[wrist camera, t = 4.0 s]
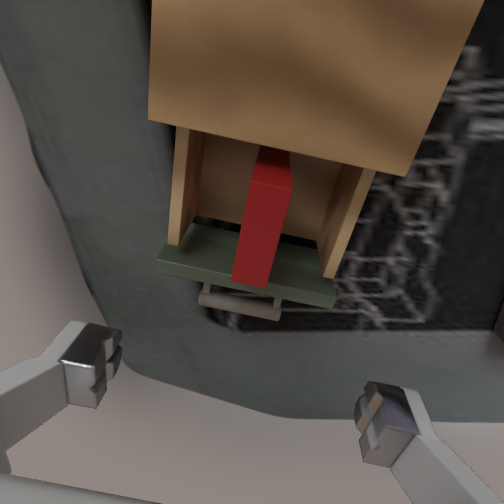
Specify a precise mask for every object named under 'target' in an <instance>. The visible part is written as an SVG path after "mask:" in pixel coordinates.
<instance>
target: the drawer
mask: <svg viewBox="0 0 504 504" xmlns="http://www.w3.org/2000/svg"><path fill="white" fill-rule="evenodd" d="M259 148H260V145H259V144H254V143H250V142H245V141H241V140H236V139H232V138H227V137H223V136H218V135H214V134H209V133H205V132H200V131H196V130H192V129H187V128H183V127H178V126H177V127H176V140H175V152H174V165H173V178H172V191H171V204H170V216H169V229H168V241H167V243H166V244H165V246H164V247H163V249H162V251H161V252H160V254H159V255H158V257H157V258H156V264H155V272H156V273H161V274H166V275H170V276H175V277H180V278H185V279H190V280H194V281H199V282H204V285H203V289H201V291H200V294H199V299H198V305H202V306H207V307H211V308H216V309H221V310H226V311H231V312H236V313H240V314H245V315H250V316H255V317H260V318H265V319H269V320H274V321H279V319H280V315H281V309H282V306H281V302H282V299H285V300H290V301H295V302H299V303H304V304H309V305H314V306H319V307H323V308H328V309H332V308H333V306H334V304H335V301H336V299H337V295H336V291H335V286H334V282H333V279H334V277H335V274H336V271H337V269H338V266H339V264H340V261H341V259H342V256H343V254H344V251H345V249H346V246H347V244H348V241H349V239H350V236H351V234H352V231H353V229H354V226H355V224H356V221H357V219H358V216H359V213H360V211H361V208H362V206H363V203H364V201H365V198H366V196H367V193H368V191H369V188H370V186H371V183H372V181H373V178H374V176H375V173H376V171H375V170H371V169H366V168H362V167H357V166H353V165H348V164H344V163H339V162H335V161H330V160H326V159H322V158H317V157H313V156H308V155H304V154H299V153H295V152H290V151H289V154H290V167H291V179H292V194H291V198H290V201H289V205H288V209H287V212H286V216H285V220H284V223H283V227H282V231H281V233H282V234H287V235H292V236H296V237H301V238H306V239H310V240H315V241H316V243H317V248H318V250H317V249H312V248H307V247H303V246H298V245H293V244H289V243H284V242H278V245H277V249H276V253H275V256H274V260H273V264H272V267H271V271H270V275H269V278H268V282H267V286H266V288H260V287H255V286H251V285H246V284H241V283H236V282H232V281H230V280H231V275H232V270H233V265H234V260H235V255H236V250H237V245H238V240H239V235H240V233H237V232H233V231H228V230H223V229H219V228H214V227H209V226H205V225H200V224H195V223H192V221H193V219H194V218H195V216H196V215H199V216H203V217H208V218H213V219H217V220H222V221H227V222H231V223H236V224H241V225H242V220H243V216H244V211H245V206H246V201H247V196H248V191H249V186H250V181H251V177H252V174H253V170H254V166H255V162H256V159H257V155H258V151H259ZM212 284H213V285H218V286H223V287H228V288H233V289H237V290H242V291H247V292H252V293H256V294H261V295H266V296H271V297H274V300H273V303H269V302H264V301H259V300H254V299H250V298H245V297H240V296H235V295H230V294H226V293H221V292H216V291H211V285H212Z"/></svg>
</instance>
